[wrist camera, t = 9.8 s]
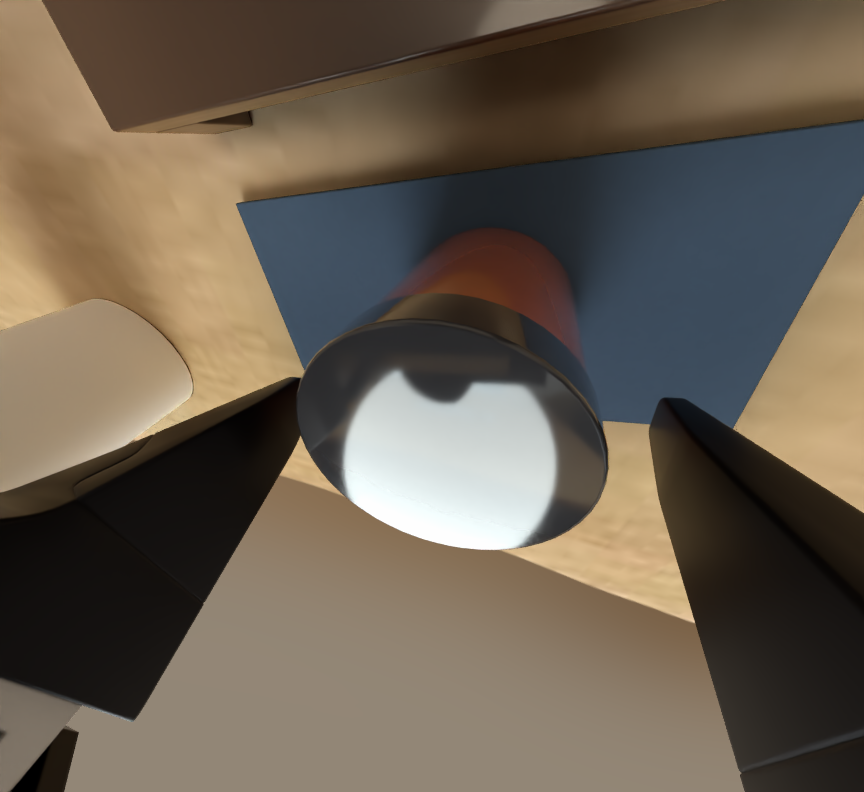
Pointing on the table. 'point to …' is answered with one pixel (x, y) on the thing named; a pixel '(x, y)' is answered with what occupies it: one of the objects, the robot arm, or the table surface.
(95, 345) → the cylindrical container
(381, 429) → the jar
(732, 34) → the table surface
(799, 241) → the mat
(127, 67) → the shelf
